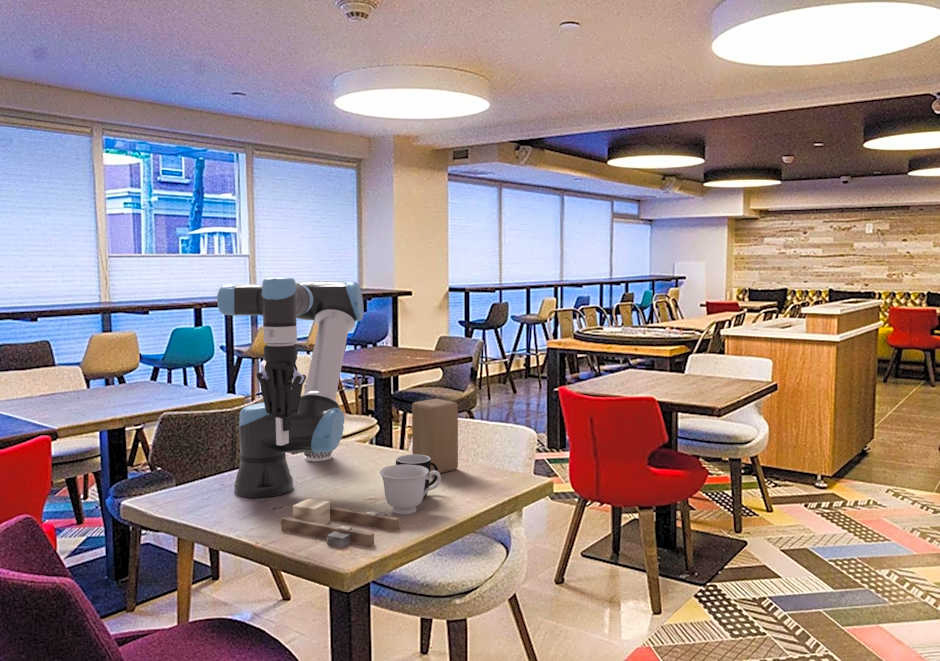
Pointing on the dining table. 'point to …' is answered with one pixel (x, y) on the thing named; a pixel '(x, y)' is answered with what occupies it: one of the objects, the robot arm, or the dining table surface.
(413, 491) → the teacup
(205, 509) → the dining table surface
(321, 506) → the block
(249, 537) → the dining table surface
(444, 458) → the block
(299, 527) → the beam slot
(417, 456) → the mug
